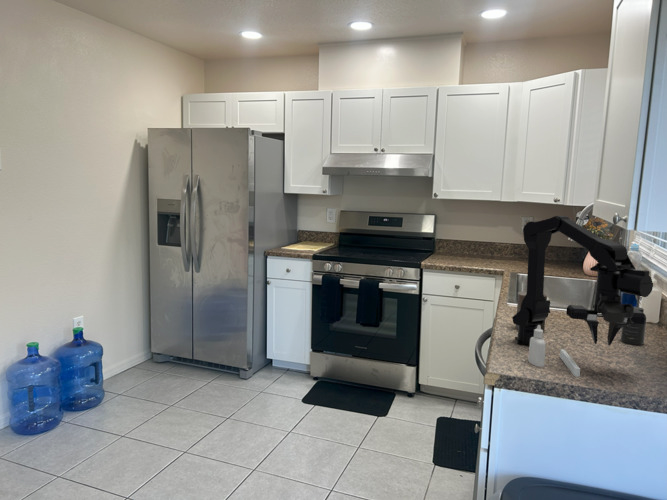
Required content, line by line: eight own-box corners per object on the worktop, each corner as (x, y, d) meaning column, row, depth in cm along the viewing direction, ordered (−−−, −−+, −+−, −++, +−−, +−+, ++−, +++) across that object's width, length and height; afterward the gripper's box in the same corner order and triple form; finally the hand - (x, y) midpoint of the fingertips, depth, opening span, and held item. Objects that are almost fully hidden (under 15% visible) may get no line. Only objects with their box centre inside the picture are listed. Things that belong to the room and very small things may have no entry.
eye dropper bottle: (544, 364, 143) (547, 324, 141) (543, 370, 138) (547, 329, 136) (528, 361, 144) (531, 322, 143) (527, 367, 139) (530, 326, 138)
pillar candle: (546, 336, 170) (550, 294, 168) (517, 333, 172) (520, 292, 170) (540, 328, 180) (544, 288, 178) (513, 326, 182) (516, 286, 180)
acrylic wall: (559, 359, 147) (560, 349, 147) (563, 359, 147) (564, 349, 147) (574, 379, 132) (575, 368, 131) (579, 379, 131) (580, 368, 131)
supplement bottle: (622, 338, 171) (625, 304, 169) (645, 342, 166) (649, 307, 165) (618, 342, 165) (622, 307, 164) (642, 347, 161) (646, 311, 159)
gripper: (579, 293, 129) (574, 350, 131) (658, 298, 125) (651, 357, 127) (568, 284, 139) (563, 337, 142) (640, 289, 136) (634, 343, 138)
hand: (602, 344), depth 137 cm, fingers open, 3 cm apart
